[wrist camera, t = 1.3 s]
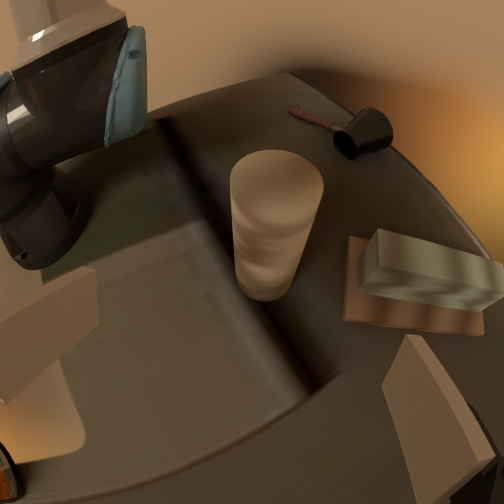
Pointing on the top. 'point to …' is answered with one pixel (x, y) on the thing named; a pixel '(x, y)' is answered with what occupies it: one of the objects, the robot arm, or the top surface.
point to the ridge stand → (418, 285)
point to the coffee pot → (355, 131)
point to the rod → (271, 219)
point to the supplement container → (9, 478)
